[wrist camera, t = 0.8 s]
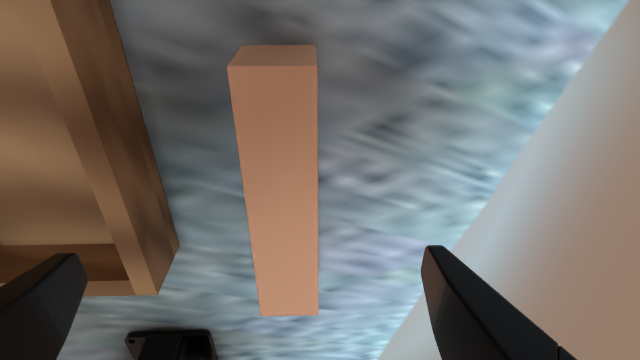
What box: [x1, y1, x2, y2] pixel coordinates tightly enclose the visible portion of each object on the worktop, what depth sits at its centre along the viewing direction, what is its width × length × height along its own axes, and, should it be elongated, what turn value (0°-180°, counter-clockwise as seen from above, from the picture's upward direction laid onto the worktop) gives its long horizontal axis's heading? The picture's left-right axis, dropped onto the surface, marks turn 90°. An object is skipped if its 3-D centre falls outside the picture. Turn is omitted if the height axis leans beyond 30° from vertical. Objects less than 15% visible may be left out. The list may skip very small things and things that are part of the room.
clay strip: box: [227, 45, 318, 316], centre depth 20 cm, size 15×4×4 cm, turn 0°
